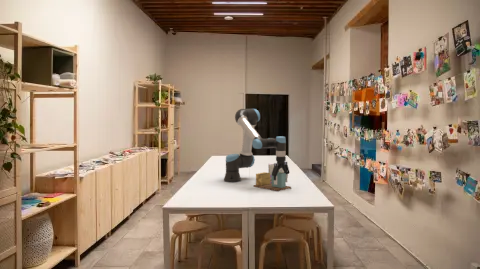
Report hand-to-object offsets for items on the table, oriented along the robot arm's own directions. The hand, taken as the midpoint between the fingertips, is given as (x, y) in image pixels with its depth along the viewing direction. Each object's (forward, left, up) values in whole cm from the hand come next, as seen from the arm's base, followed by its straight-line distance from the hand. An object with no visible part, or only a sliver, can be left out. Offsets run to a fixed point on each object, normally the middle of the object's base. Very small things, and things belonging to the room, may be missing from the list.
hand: (280, 183), depth 283 cm
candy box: (-19, +18, -5) cm, 27 cm away
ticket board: (-9, 0, -4) cm, 10 cm away
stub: (-2, 0, -3) cm, 4 cm away
